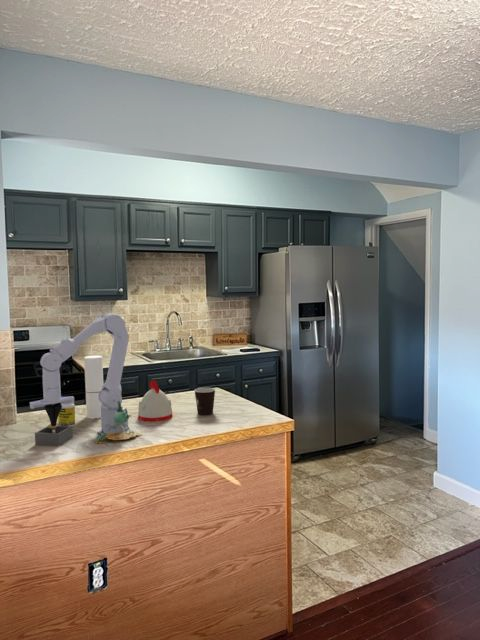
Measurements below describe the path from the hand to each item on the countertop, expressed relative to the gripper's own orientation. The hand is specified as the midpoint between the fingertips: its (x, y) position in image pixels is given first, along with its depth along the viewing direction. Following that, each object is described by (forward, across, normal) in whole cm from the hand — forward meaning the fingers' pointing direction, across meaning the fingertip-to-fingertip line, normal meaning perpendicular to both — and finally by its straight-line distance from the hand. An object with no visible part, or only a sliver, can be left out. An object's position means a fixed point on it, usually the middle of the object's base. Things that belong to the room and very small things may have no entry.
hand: (53, 425), depth 172 cm
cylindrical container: (+6, -22, -22) cm, 32 cm away
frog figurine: (+6, -20, +10) cm, 23 cm away
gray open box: (+6, 0, 0) cm, 6 cm away
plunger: (+6, 0, 0) cm, 6 cm away
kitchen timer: (+6, -42, -6) cm, 43 cm away
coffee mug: (+6, -62, +1) cm, 62 cm away
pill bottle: (+6, -8, -16) cm, 19 cm away
